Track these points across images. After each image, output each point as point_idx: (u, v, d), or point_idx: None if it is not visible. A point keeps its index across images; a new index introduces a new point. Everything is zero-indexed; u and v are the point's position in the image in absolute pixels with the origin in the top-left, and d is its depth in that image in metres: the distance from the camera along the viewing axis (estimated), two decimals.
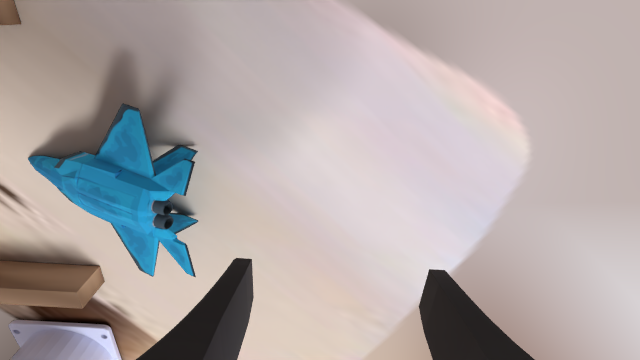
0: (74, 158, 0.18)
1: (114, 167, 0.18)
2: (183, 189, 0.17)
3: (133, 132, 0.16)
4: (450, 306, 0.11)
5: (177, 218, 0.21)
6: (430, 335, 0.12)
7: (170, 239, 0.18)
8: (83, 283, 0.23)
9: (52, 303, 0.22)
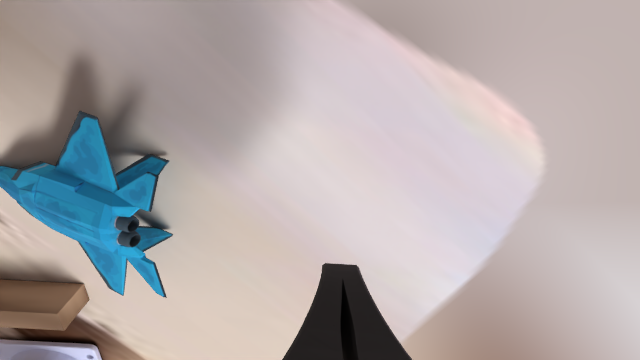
0: (32, 169, 0.17)
1: (74, 179, 0.16)
2: (148, 205, 0.15)
3: (92, 143, 0.15)
4: (346, 300, 0.11)
5: (148, 232, 0.19)
6: None
7: (138, 257, 0.17)
8: (65, 303, 0.21)
9: (31, 325, 0.21)
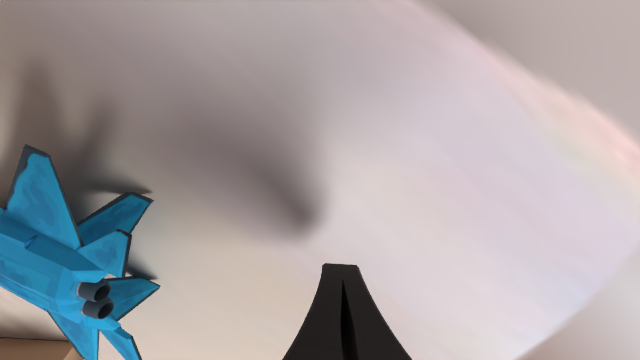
0: None
1: (26, 230, 0.12)
2: (120, 271, 0.11)
3: (44, 186, 0.11)
4: (346, 300, 0.11)
5: (128, 287, 0.15)
6: None
7: (111, 329, 0.13)
8: None
9: None
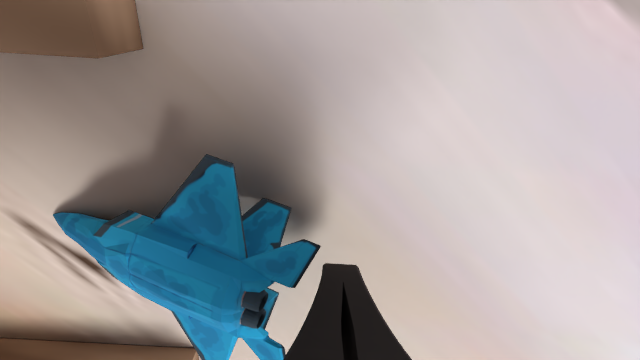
0: (123, 223, 0.13)
1: (183, 239, 0.12)
2: (294, 281, 0.11)
3: (220, 196, 0.11)
4: (346, 300, 0.11)
5: None
6: None
7: (259, 338, 0.13)
8: None
9: None
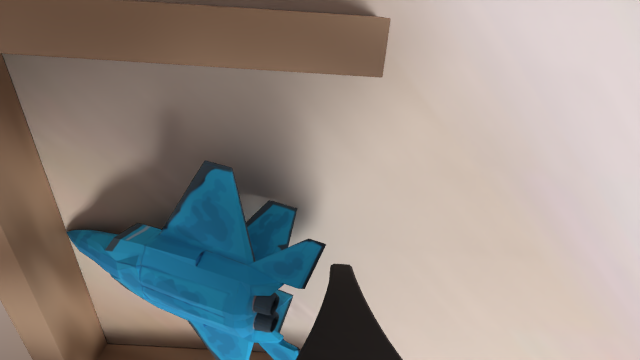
0: (132, 236, 0.13)
1: (191, 248, 0.12)
2: (303, 282, 0.11)
3: (222, 202, 0.11)
4: (338, 299, 0.11)
5: None
6: None
7: (275, 342, 0.13)
8: None
9: None
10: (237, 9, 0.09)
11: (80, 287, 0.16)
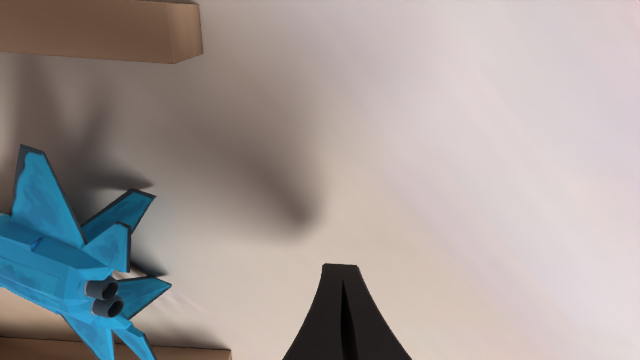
0: None
1: (32, 234, 0.12)
2: (124, 265, 0.11)
3: (43, 186, 0.11)
4: (346, 300, 0.11)
5: (140, 287, 0.15)
6: None
7: (123, 328, 0.13)
8: None
9: None
10: None
11: None
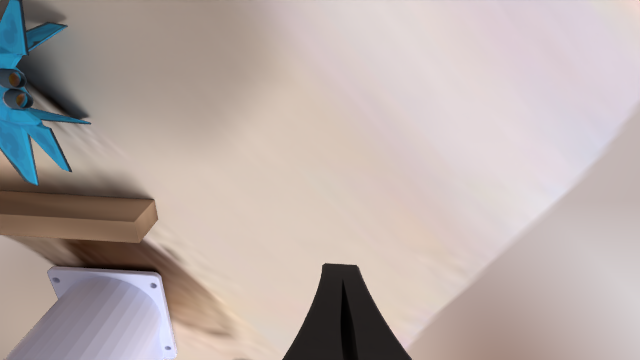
0: None
1: None
2: (23, 46, 0.13)
3: None
4: (346, 300, 0.11)
5: (59, 115, 0.18)
6: None
7: (34, 125, 0.15)
8: (140, 214, 0.20)
9: (105, 236, 0.20)
10: None
11: None
